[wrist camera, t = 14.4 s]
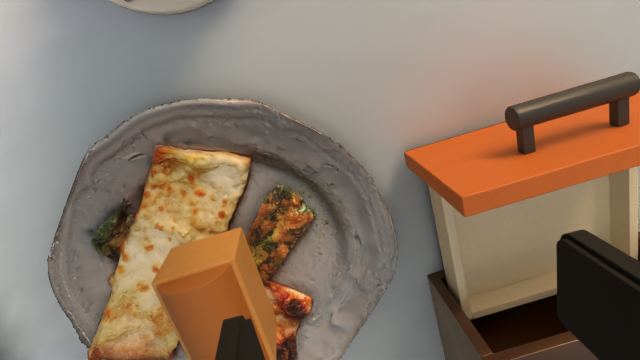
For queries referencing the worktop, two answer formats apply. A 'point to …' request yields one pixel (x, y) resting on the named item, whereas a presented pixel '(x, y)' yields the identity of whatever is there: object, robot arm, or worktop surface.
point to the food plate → (221, 227)
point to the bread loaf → (214, 293)
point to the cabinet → (504, 330)
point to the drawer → (534, 191)
